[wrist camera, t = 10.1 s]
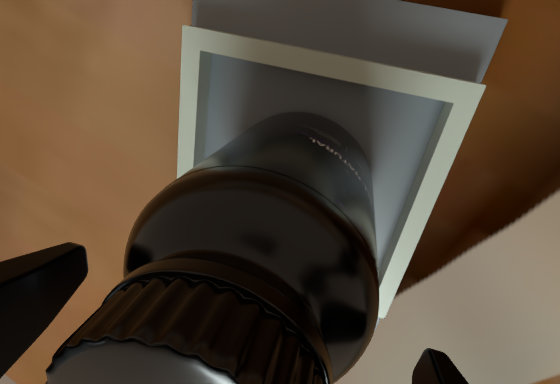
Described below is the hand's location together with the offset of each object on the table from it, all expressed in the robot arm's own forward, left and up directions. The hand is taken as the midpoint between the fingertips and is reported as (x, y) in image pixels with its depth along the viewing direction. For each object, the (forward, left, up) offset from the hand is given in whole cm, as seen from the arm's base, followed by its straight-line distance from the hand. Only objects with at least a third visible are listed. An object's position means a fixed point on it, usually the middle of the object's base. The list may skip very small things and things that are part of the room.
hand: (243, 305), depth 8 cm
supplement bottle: (0, 0, -9) cm, 9 cm away
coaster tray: (0, 0, -9) cm, 9 cm away
